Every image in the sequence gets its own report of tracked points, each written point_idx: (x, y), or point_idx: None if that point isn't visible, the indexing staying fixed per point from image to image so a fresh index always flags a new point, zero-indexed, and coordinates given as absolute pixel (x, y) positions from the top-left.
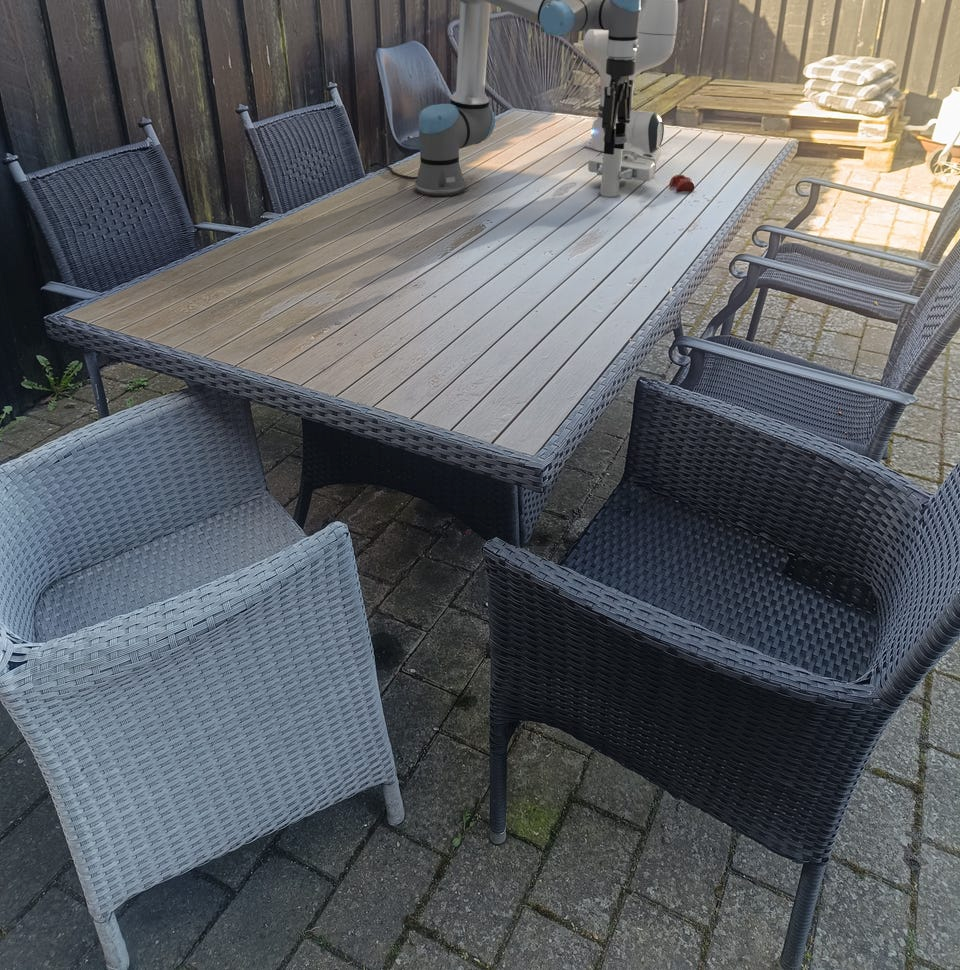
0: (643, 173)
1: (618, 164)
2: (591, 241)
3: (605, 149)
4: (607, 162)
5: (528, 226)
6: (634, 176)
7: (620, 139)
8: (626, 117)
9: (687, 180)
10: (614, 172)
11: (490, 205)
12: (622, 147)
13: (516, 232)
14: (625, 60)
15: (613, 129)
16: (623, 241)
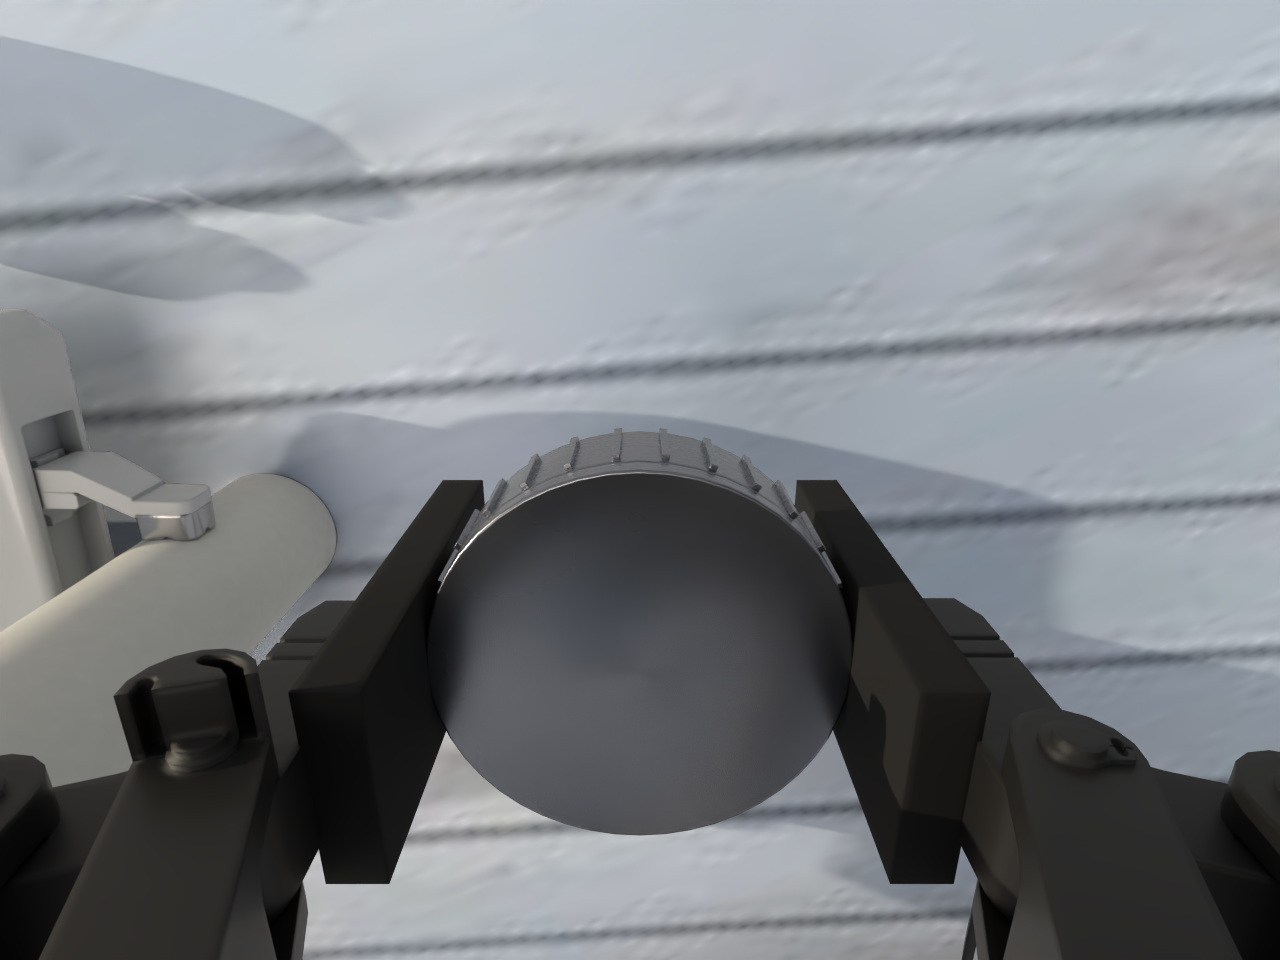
0: (23, 359)
1: (156, 576)
2: (1258, 219)
3: None
4: None
5: (1103, 661)
6: (56, 438)
7: (775, 499)
8: (175, 817)
9: None
10: (226, 564)
11: (849, 943)
12: (479, 496)
13: (1225, 669)
14: None
15: (977, 718)
16: (1191, 3)
